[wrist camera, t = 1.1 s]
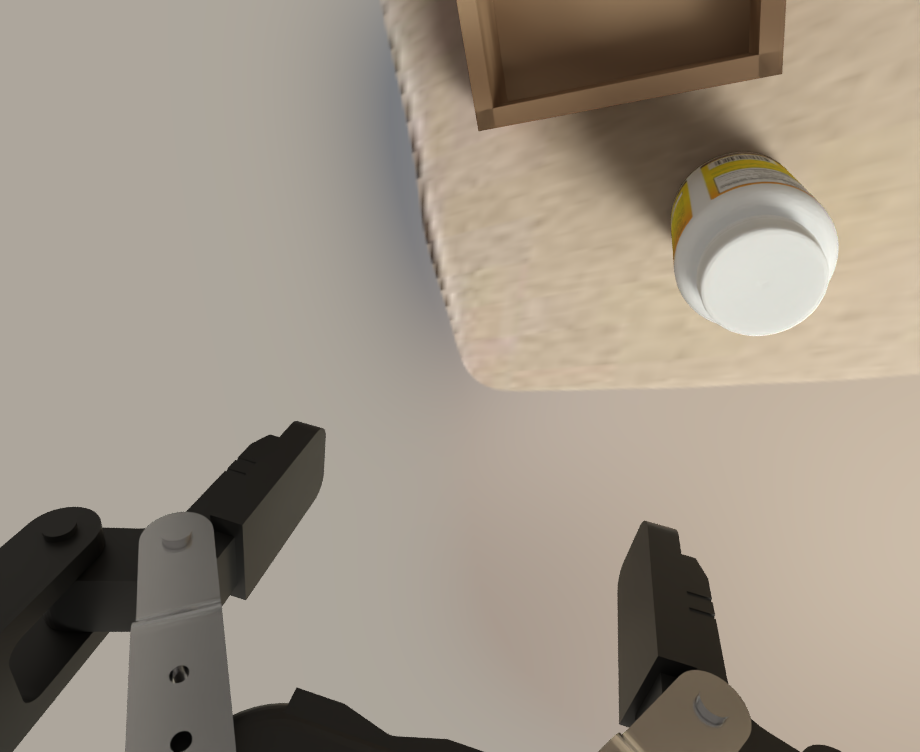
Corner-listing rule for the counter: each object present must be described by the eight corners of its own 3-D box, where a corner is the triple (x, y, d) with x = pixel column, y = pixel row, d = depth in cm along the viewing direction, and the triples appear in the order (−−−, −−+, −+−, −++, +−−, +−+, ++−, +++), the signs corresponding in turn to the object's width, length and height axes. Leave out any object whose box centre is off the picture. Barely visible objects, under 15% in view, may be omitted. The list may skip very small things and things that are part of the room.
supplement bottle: (712, 285, 30) (732, 383, 21) (647, 203, 29) (641, 273, 20) (821, 215, 27) (894, 298, 18) (753, 121, 26) (797, 164, 17)
